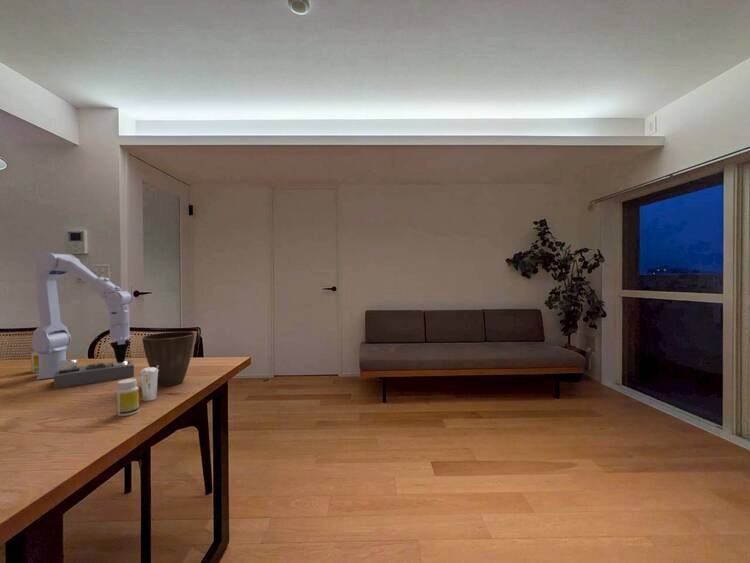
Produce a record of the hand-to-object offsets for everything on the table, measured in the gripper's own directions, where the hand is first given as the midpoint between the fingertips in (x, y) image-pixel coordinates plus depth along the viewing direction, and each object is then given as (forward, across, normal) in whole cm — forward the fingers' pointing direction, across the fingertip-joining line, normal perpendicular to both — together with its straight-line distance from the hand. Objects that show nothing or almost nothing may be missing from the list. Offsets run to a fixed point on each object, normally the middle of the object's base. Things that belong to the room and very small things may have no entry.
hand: (120, 361), depth 127 cm
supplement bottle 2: (+5, -45, +1) cm, 45 cm away
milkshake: (+5, -37, -5) cm, 38 cm away
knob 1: (+2, 0, +14) cm, 14 cm away
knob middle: (+4, 0, +7) cm, 8 cm away
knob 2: (+4, 0, 0) cm, 4 cm away
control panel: (+5, 0, +7) cm, 8 cm away
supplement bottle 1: (+5, +27, +23) cm, 36 cm away
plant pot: (+5, -23, -12) cm, 26 cm away
